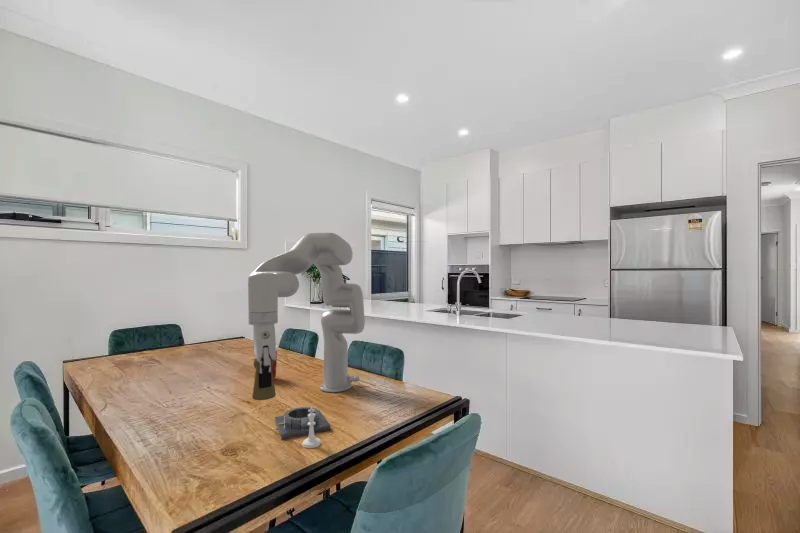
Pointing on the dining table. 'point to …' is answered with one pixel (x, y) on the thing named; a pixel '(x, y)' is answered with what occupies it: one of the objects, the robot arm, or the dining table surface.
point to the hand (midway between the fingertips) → (264, 384)
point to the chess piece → (311, 433)
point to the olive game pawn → (263, 392)
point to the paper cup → (274, 366)
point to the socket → (300, 422)
